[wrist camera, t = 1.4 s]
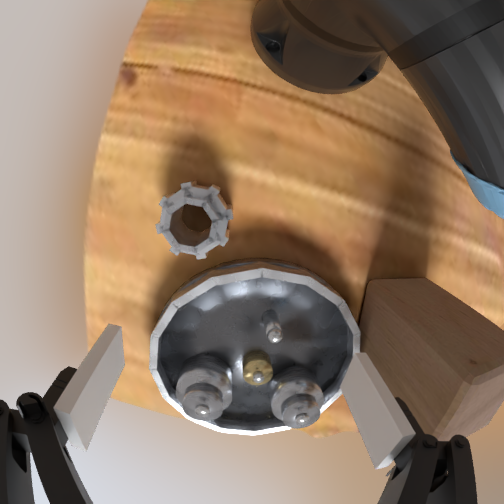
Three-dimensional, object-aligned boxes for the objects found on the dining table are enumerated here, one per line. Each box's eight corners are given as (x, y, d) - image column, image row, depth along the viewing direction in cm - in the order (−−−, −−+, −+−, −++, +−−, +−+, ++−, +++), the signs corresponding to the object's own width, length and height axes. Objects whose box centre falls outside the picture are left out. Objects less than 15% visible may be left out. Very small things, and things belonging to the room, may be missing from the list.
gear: (172, 176, 27) (157, 177, 21) (238, 188, 28) (239, 192, 22) (161, 240, 29) (145, 256, 23) (224, 252, 30) (223, 272, 24)
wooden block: (365, 276, 32) (476, 377, 13) (426, 275, 33) (534, 348, 13) (350, 346, 35) (421, 461, 15) (409, 338, 35) (488, 427, 16)
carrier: (165, 237, 29) (143, 260, 21) (377, 279, 32) (413, 307, 24) (152, 402, 35) (141, 443, 27) (313, 420, 38) (326, 458, 31)
